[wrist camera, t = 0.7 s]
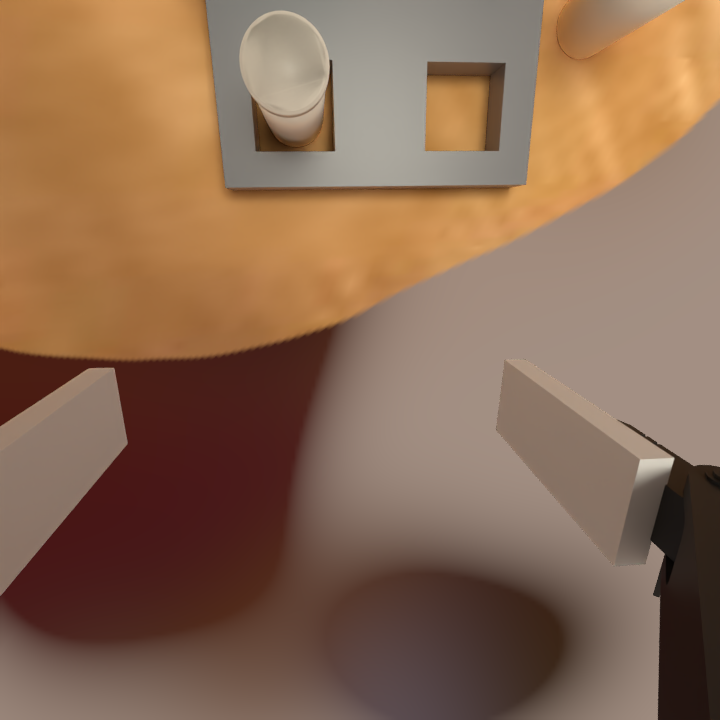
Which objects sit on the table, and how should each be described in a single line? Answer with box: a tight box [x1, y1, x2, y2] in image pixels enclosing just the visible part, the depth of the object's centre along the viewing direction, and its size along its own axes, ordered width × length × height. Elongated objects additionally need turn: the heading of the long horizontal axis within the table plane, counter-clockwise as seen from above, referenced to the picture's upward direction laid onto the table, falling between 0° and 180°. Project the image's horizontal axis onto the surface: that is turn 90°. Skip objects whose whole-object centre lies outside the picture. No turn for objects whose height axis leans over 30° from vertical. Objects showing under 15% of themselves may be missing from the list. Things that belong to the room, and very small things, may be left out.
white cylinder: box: [239, 10, 330, 147], centre depth 29 cm, size 5×5×12 cm
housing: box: [206, 0, 544, 190], centre depth 31 cm, size 18×24×6 cm
